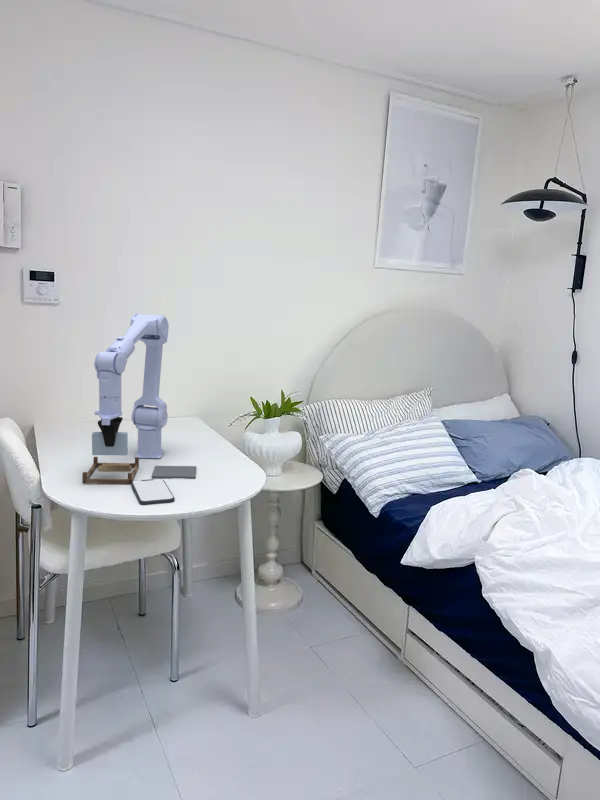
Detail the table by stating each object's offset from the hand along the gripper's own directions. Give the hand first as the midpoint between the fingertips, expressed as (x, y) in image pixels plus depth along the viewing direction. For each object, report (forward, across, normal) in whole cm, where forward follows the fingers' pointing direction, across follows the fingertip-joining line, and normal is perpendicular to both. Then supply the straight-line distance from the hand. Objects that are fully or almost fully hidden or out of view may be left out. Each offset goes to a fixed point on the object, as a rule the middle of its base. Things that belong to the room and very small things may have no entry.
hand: (110, 445), depth 160 cm
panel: (+3, 0, 0) cm, 3 cm away
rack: (+9, -2, 0) cm, 10 cm away
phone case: (+10, +12, +12) cm, 20 cm away
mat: (+9, -5, +17) cm, 20 cm away
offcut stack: (+9, -8, 0) cm, 12 cm away
